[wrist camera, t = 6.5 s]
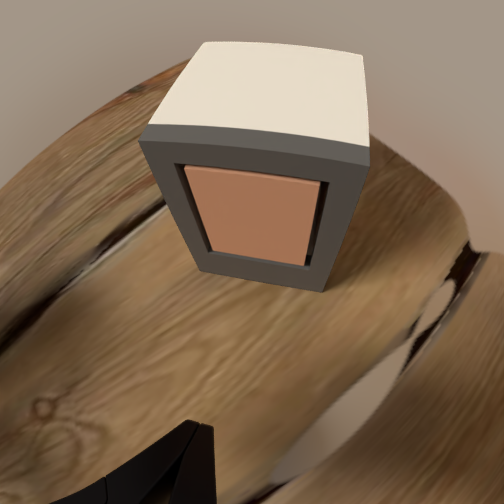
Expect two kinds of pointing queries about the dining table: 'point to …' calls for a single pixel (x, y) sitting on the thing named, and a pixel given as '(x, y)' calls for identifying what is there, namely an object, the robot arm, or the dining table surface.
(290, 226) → the peg
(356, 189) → the sleeve
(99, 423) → the dining table surface
